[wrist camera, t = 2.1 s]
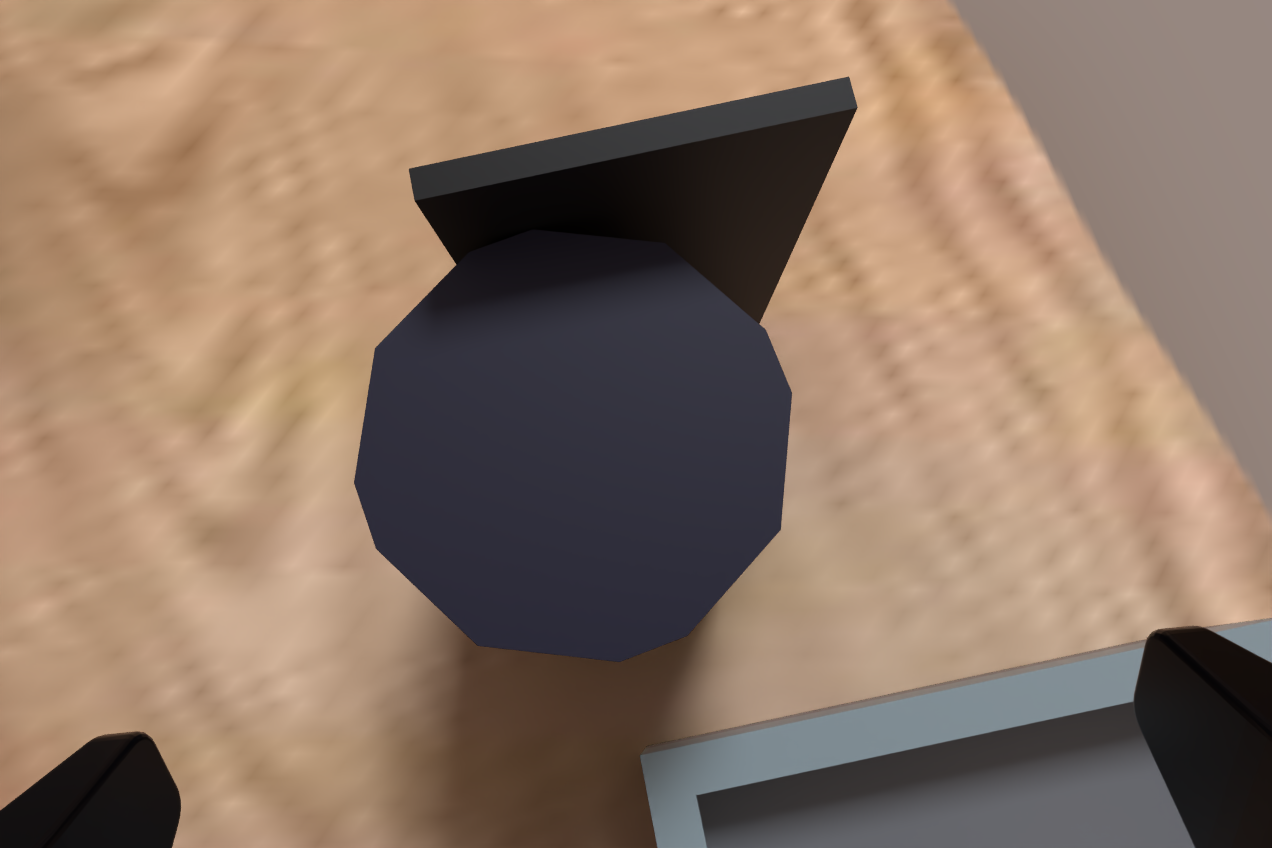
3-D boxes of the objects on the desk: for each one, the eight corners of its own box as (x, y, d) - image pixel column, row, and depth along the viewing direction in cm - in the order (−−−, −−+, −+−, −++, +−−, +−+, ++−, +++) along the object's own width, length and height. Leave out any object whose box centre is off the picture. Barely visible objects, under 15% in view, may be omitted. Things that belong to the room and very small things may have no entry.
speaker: (514, 285, 21) (387, -13, 11) (757, 318, 21) (865, 46, 10) (455, 610, 19) (242, 624, 9) (716, 650, 19) (793, 709, 9)
